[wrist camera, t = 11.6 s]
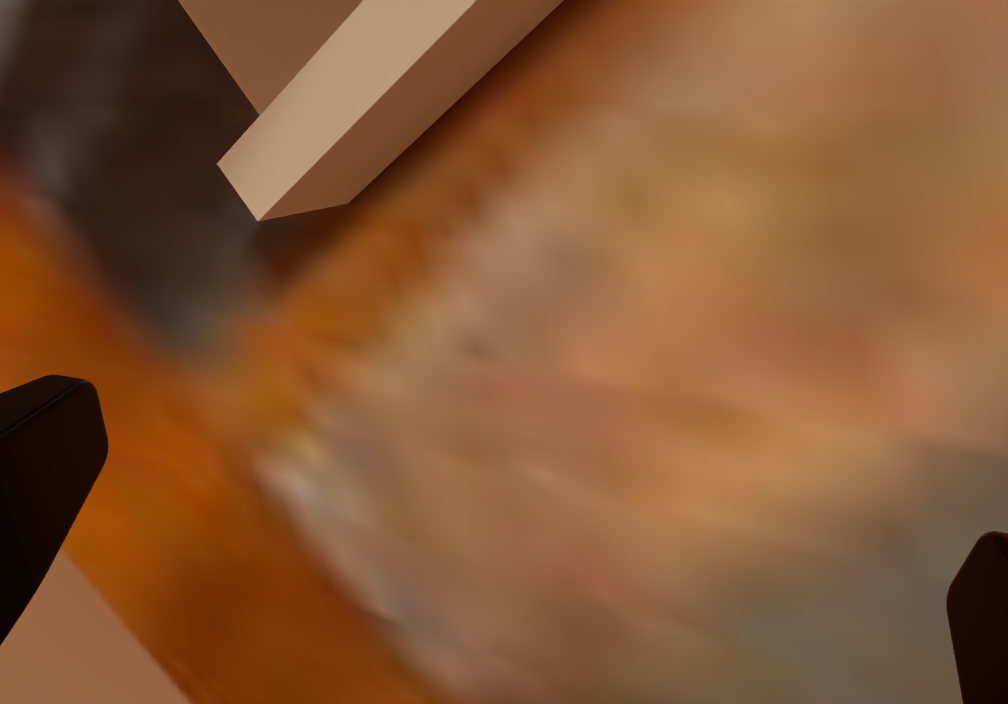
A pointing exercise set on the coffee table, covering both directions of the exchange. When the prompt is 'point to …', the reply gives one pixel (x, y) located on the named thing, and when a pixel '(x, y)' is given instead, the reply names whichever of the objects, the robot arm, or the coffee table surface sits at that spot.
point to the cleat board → (347, 84)
